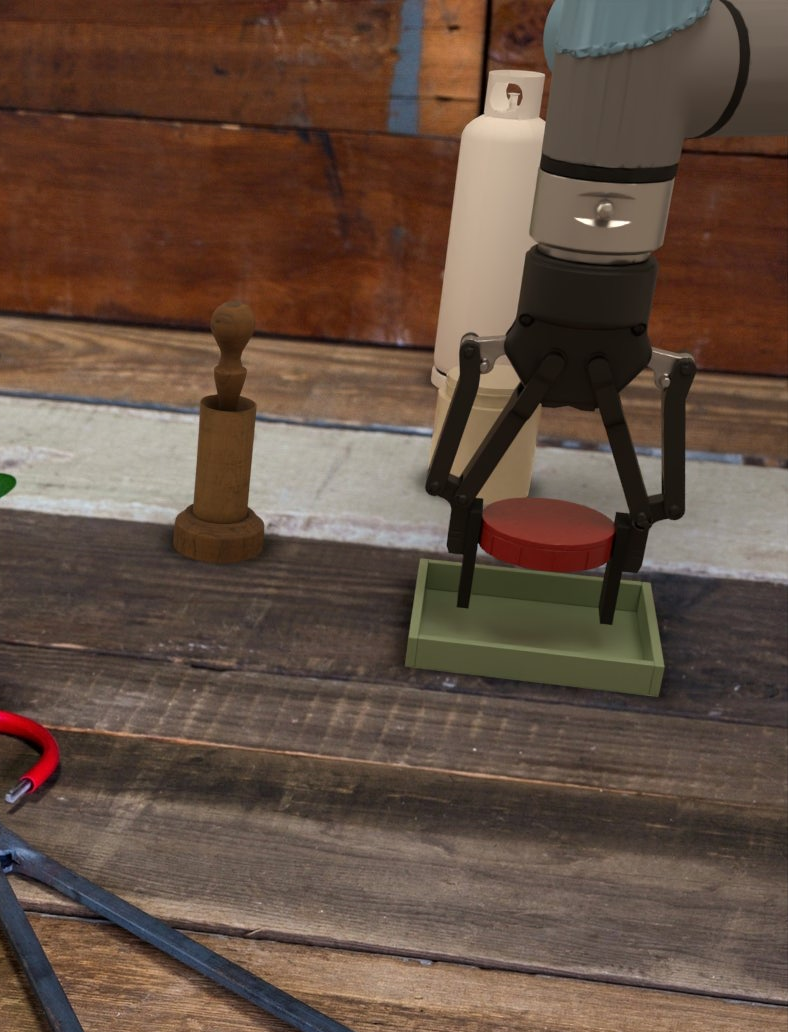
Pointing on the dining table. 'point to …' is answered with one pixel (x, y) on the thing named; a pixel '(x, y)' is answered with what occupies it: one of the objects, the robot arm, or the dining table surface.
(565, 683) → the tray
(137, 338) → the dining table surface
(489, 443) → the robot arm
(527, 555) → the jam lid
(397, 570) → the dining table surface
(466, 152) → the bottle
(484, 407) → the jam jar
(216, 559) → the mortar and pestle
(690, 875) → the dining table surface
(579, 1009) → the dining table surface
